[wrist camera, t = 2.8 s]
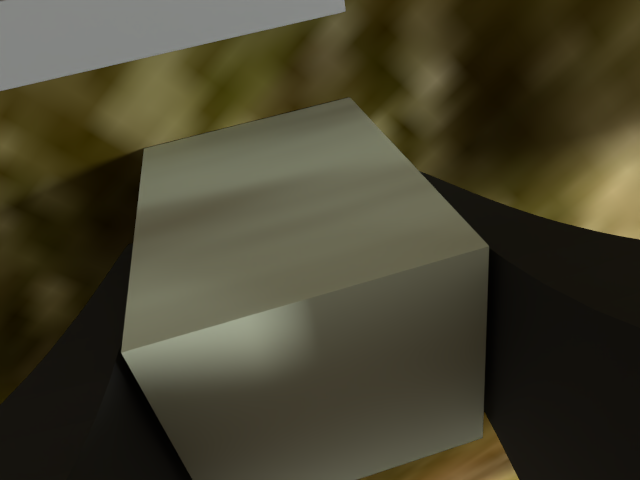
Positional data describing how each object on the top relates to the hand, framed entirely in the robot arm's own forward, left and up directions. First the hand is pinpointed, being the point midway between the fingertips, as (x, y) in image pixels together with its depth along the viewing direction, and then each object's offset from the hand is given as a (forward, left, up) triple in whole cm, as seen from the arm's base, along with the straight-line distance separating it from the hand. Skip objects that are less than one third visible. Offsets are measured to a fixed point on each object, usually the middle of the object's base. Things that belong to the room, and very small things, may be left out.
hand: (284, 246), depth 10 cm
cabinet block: (0, 0, -2) cm, 2 cm away
